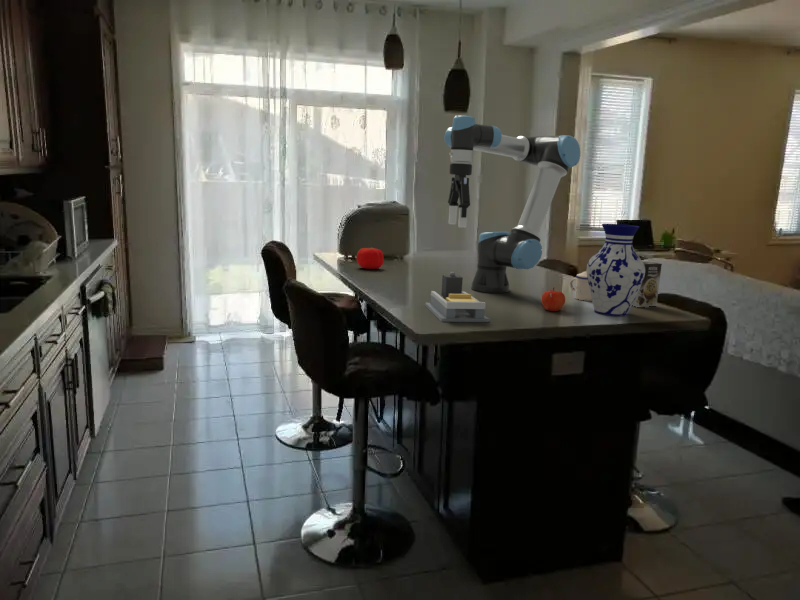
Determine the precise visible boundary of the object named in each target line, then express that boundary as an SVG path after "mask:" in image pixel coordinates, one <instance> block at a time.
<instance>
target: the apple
mask: <svg viewBox="0 0 800 600" xmlns="http://www.w3.org/2000/svg"><path fill="white" fill-rule="evenodd" d="M540 300H541V304H542V307H543V308H544V309H545V310H546V311H548V312H549V311H550V312H558V311H560V310H561V309H562V308H563V307H564V306H565V304H566V296H565V294H564V293H563V292H562V291H560V290H555V287H553V288H552V289H551V290H546V291H544V292H543V294H542V295H541V298H540Z"/></svg>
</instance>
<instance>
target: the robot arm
mask: <svg viewBox="0 0 800 600" xmlns="http://www.w3.org/2000/svg"><path fill="white" fill-rule="evenodd" d="M451 125H452V126H450V127H448V128H447V129H446V131H445V133H444V137H443V140H444V143H445V145H446V146H447V147H448V148H450V152H449V154H448V155H449V156H450V162H451V163H450V164H449V174H450V175H453V176H454V177H451V185H450V189H449V193H448V194H449V195H448V199H447V203H448V205H449V207H448V208H449V210H448V225H457V224H458V226H457V227H458V228H463V229H464V228H465V229H466V228H467V227H468V226H467V225H468V210H469V207H471V198H470V197H471V196H470V195H471V194H470V178H469V177H467V176H471V175H472V174H473V173H472V171H473V165H472V163H473V159H474V151H477V152H482V153H487V154H492V155H498V156H502V157H509V158H512V159H513V160H514V161H516V162H521V163H524V164H525V163H526V164H528V165H532V166H537V167H538V169H539V171H538V173H537V176H536V178H535V180H534V183H533V185H532V188H531V190H530V193H529V196H528V198H527V200H526V203H525V205H524V208H523V210H522V213H521V216H520V218H519V221H518V223H517V225H516V226H515V227H512V228H511V230H510V232H509V231H492V232H491V231H490V232H488V231H487V232H481V233H480V234H479V235H478V236H479V238H478V242H477V259H476V262H477V263H476V271H475V273H474V276H473V279H472V280H471V285H470V289H471V290H474V291H476V292H477V291H478V292H483V293H494V294H495V293H496V294H497V293H499V294H503V293H509V292H510V281H509V277H508V274H507V268H514V269H516V270H530V269H533V268H534V267H535V266H537V264H538V263H540V260H541V259H542V255H543V250H542V249H543V247H542V243H541V239H542V238H541V237H540V231H541V229H542V226H543V223H544V222H545V218H546V216H547V214H548V211H549V209H550V206H551V204H552V201H553V199H554V196H555V194H556V191H557V188H558V186H559V184H560V181H561V178H563V177H565V176H566V175H567V174H568V172H569V169H570V168H573V167H575V166H577V165H578V163H579V161H580V159H581V148H580V144H579V141H578V140H577V139H576V138H575V137H574V136H572V135H568V134H567V135H565V134H560V135H538V136H523V135H519V136H517V137H515V136H509V135H505V134H503V133H502V131H501V129H500V128H499V127H497V126H495V125H492V124H489V125H487V124H480V123H479V124H478V123H476V118H475V117H474V116H471V115H455V116H454V117H453V119H452V124H451ZM458 201H459V202H458ZM458 208H459V209H458ZM457 218H458V222H457Z"/></svg>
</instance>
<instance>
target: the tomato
mask: <svg viewBox="0 0 800 600" xmlns="http://www.w3.org/2000/svg"><path fill="white" fill-rule="evenodd" d="M384 260H385V258H384V252H383V251H382V250H381V249H380V248H379V249H378V248H374V246H373V247H371V246H370V247H361V248H360V249H359V250H358V251H357V253H356V262H357V264H358V265H359V267H361V268H362V269H366V270H377V269H380V268H381V267H382V266H383V265H384V262H385V261H384Z"/></svg>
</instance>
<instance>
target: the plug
mask: <svg viewBox="0 0 800 600" xmlns="http://www.w3.org/2000/svg"><path fill="white" fill-rule="evenodd" d="M462 292H463V276H461V275H459V274H456V272H454V271H450V273H449V274H442V281H441V295H440V296H441V297H442V298H444V299H445V300H446V297H449V294H462Z"/></svg>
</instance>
